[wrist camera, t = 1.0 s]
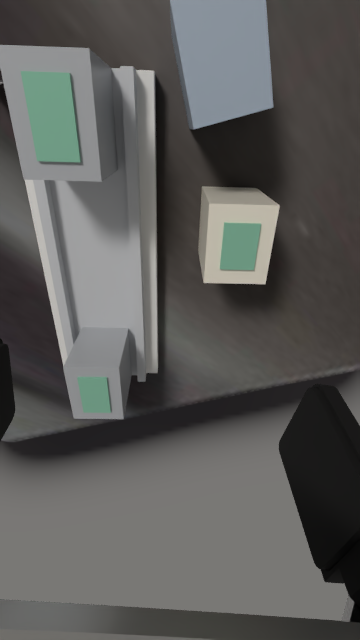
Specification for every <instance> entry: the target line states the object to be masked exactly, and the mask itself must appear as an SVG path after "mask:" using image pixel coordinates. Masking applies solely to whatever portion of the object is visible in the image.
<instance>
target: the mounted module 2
mask: <svg viewBox="0 0 360 640" xmlns="http://www.w3.org/2000/svg"><path fill="white" fill-rule="evenodd" d="M63 369H64V374H65V378H66V383H67V388H68V393H69V397H70V402H71V407H72V412H73V416H74V418H77V419H124V415H125V409H126V404H127V398H128V393H129V387H130V382H131V376H132V372H131V357H130V342H129V328H98V327H82V328H81V331H80V333H79V335H78V337H77V339H76V341H75V343H74V345H73V347H72V349H71V352H70V354H69V356H68V358H67V360H66V362H65V364H64V366H63Z"/></svg>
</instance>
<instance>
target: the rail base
mask: <svg viewBox="0 0 360 640" xmlns="http://www.w3.org/2000/svg"><path fill="white" fill-rule="evenodd" d="M120 68H121V69H119V68H111V74H112V89H113V104H114V118H115V133H116V148H117V163H118V170H117V171H116V172H115V173H113V174H112V175H110V176H109V177H108V178H106V179H105V180H103V181H102V182H93V181H58V180H25V183H26V188H27V193H28V198H29V202H30V207H31V212H32V217H33V222H34V226H35V231H36V236H37V241H38V246H39V250H40V255H41V260H42V265H43V270H44V274H45V279H46V284H47V289H48V294H49V298H50V303H51V308H52V313H53V318H54V322H55V327H56V332H57V337H58V342H59V346H60V351H61V356H62V361H63V365H64V364H65V362H66V360H67V358H68V356H69V354H70V352H71V349H72V347H73V345H74V343H75V341H76V339H77V337H78V335H79V333H80V331H81V328H82V327H98V328H129V342H130V357H131V372H132V375H137V377H138V382H145V381H146V373H158V288H157V189H156V90H155V72H154V71H148V70H135V68H134V67H133V66H120Z"/></svg>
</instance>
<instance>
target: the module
mask: <svg viewBox="0 0 360 640" xmlns="http://www.w3.org/2000/svg"><path fill="white" fill-rule="evenodd" d="M170 12H171V32H172V40H173V45H174V51H175V56H176V61H177V66H178V72H179V77H180V82H181V87H182V93H183V98H184V103H185V108H186V113H187V119H188V124H189V129H197V128H201V127H205V126H208V125H212V124H216V123H219V122H223V121H226V120H230V119H234V118H237V117H241V116H244V115H248V114H252V113H255V112H259V111H263V110H266V109H270V108H273V95H272V80H271V66H270V52H269V38H268V24H267V9H266V0H170Z"/></svg>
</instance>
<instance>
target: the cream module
mask: <svg viewBox="0 0 360 640" xmlns="http://www.w3.org/2000/svg"><path fill="white" fill-rule="evenodd" d="M279 207H280V205H278V204H277V203H276V202H274V201H273V200H272V199H270V198H269V197H268V196H266V195H265V194H264V193H262V192H261V191H260V190H258V189H257V188H240V187H205V186H202V196H201V213H200V230H199V247H198V253H199V258H200V264H201V270H202V276H203V282H204V283H230V284H266V278H267V273H268V267H269V262H270V256H271V251H272V245H273V240H274V234H275V229H276V223H277V218H278V212H279Z"/></svg>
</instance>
